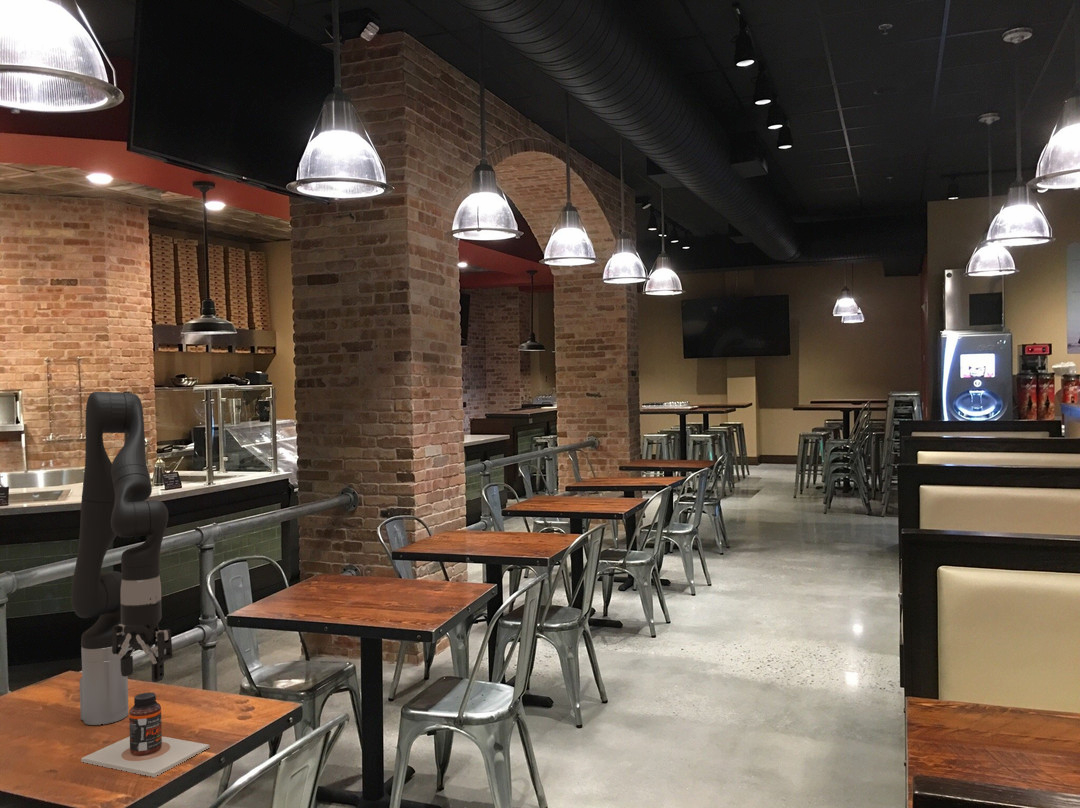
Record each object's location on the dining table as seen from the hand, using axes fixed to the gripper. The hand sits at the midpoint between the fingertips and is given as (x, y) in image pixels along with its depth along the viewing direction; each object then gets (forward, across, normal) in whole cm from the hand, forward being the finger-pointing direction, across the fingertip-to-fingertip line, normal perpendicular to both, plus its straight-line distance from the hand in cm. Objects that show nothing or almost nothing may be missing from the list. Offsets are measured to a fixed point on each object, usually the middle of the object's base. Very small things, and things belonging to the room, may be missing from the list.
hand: (142, 678), depth 171 cm
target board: (+16, 0, 0) cm, 16 cm away
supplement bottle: (+15, 0, 0) cm, 15 cm away
